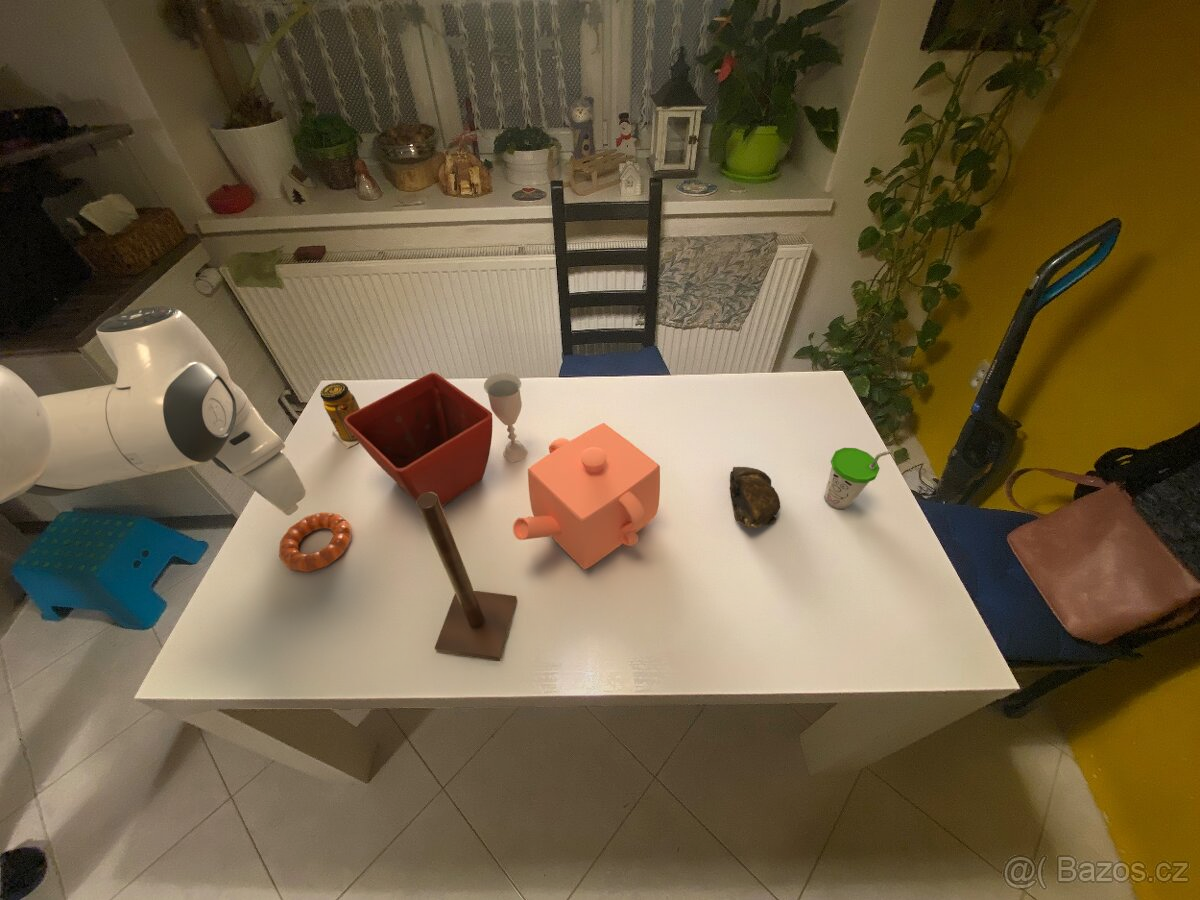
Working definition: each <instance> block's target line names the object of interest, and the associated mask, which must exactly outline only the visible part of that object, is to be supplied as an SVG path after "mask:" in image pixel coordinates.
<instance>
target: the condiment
mask: <svg viewBox="0 0 1200 900" xmlns="http://www.w3.org/2000/svg"><path fill="white" fill-rule="evenodd" d="M319 394H320V398H321V400H322V401H323V407H324V410H325V411H326V413H327V415H328V417H329V419H330V421H331V423H332V424H333V426H334V428H335V430H333V431H332V433H333V434H334V435H335V436H336V437H337V438H338V439H339V441H340V442H341V443H342V444H343V445H344V446H345V447H346V448H347V449H349V448H351V447H352V446H355V445H357V444H358V443H359V444H360V442H359V441H358V440H357V439H356V437H355V436H354V435H353V433H352V432H351V430H350V429H349V428H348V426H347V425H346V423H345V422H344V419H345V417H346V416H348V415H350V414H352V413H354V412H356V411H357V410H359V409H361V408H360V406H359V404H358V401H357V399H356V398H355V395H354V394H353V393H352V392H351V391H350V390H349V387H348V386H347V385H346V384H345V383H343V382H332V383H329V384H326V385H325V386H324V387H323V388H322V389H321V390H320V393H319Z"/></svg>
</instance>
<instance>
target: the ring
mask: <svg viewBox="0 0 1200 900" xmlns="http://www.w3.org/2000/svg"><path fill="white" fill-rule="evenodd" d="M320 529H328V530H330V531H332V538H331V539H330V541H329V543H328V544H327V545H326V546H324V547H323V548H321V549H320V550H319V551H315V552H312V553H308V554H307V553H301V552H300V551H299V545H300V543H302V540H303V539H304V538H305V537H306V536H308V535H310V533H312V532H314V531H317V530H320ZM351 531H352V530H351V524H350V523H349V521H347V520H346V519H345V518H344V517H343V516H342V515H340V514H338V513H334V512H333V513H332V512H323V511H322V512H318V513H315V514H311V515H307V516H304V517H303V518H302V519H300V520H299V521H297V522H296V523H294V524H293V525H291V526H290V527H288V529H287V531H286V532H285V534H284V535H283V536H282V538H281V539H280V541H279V549H278V550H279V551H278V557H279V560H280V561H282V563H283V564H284V565H285V566H286V567H287V568H288V569H290V570H293V571H300V572H312V571H316V570H318V569H322V568H325V567H328V566H329V565H330V564H332V563H334V561H336V560H337V559H338V558H340V557H342V555H343V554H344V553H345V551H346V549H347V547H348V546H349V544H350V542H351V540H352V532H351Z"/></svg>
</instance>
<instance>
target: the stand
mask: <svg viewBox="0 0 1200 900" xmlns="http://www.w3.org/2000/svg"><path fill="white" fill-rule="evenodd" d="M415 502H416V501H415ZM416 506H417V509H418V511H419V513H420V515H421V517H422V520H423V523H424V524H425V526H426V529H427V531H428V534H429V536H430V538H431V540H432V543H433V545H434V547H435V550H436V552H437V554H438V557H439V559H440V561H441V563H442V566H443V568H444V571H445V572H446V575H447V576H448V579H449V582H450V584H451V586H452V588H453V591H454V594H453V598H452V600H451V603H450V606H449V609H448V611H447V613H446V616H445V618H444V621H443V624H442V627H441V629H440V632H439V635H438V638H437V640H436V642H435V645H434V650H435V651H436V653H442V654H447V655H455V656H461V657H469V658H475V659H482V660H489V661H495V662H501V660H502V657H503V654H504V649H505V646H506V642H507V639H508V636H509V631H510V628H511V625H512V621H513V617H514V614H515V611H516V607H517V603H518V598H517V595H511V594H505V593H504V594H503V593H497V592H488V591H480V590H474V588H473V584H472V582H471V579H470V577H469V574H468V572H467V569H466V567H465V564H464V561H463V559H462V556H461V553H460V551H459V549H458V546H457V543H456V540H455V538H454V535H453V532H452V530H451V527H450V525H449V523H448V519H447V517H446V514H445V512H444V509H443V506H441V504H440V501H439V498H438V496H437V495H436V494H435V493H433V492H427V493H424V494H422V495H420V496H419V497H418V499H417V502H416Z"/></svg>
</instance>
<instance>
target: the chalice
mask: <svg viewBox="0 0 1200 900" xmlns="http://www.w3.org/2000/svg"><path fill="white" fill-rule="evenodd" d="M521 387H522V381H521V379H520V378H519V377H518V376H517V375H516V374H513V373H508V372H500V373H496V374H493V375H491V376H489V377H488V378H487V379H486V380H485V382H484V383H483V390H484V392H485V393H486V394H487V396H488V401H489V405H490V409H491V411H492V412H493V414H494V415H495V416H496V417H497V419H498V420H499V421H500V422H501V423H502V424H503V425H505V426H507V428H506V431H507V432H508V435H507V438H508V440H510V441H508V443H506V445H505V448H504V450H503V454H502V455H503V458H504V459H505V460H506V461H508V462H511V463H517V462H520V461H522V460H524V459H525V458H526V457H527V456H528V449H527V447H526V446H525V445H524V444H523V442H521V441H519V440H516V438H517V434H516V433H515V431H516V428H515V427H514V426H513V425H515V424H516V422H517V420H518V418H519V416H520V414H521V410H522V407H523V406H522V404H523V403H522V396H521V390H520V389H521Z"/></svg>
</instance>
